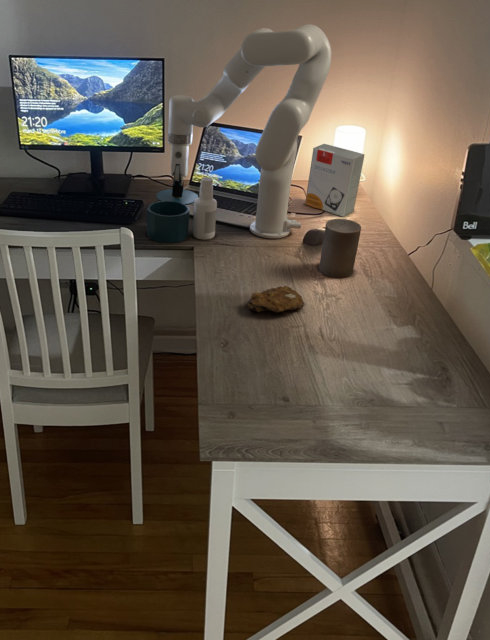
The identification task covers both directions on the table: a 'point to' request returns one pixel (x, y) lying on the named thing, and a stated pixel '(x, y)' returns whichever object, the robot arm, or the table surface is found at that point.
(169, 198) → the tin lid
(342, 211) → the hard drive box
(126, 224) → the table surface
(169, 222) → the tin
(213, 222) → the spray bottle
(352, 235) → the pillar candle
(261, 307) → the decorative rock
